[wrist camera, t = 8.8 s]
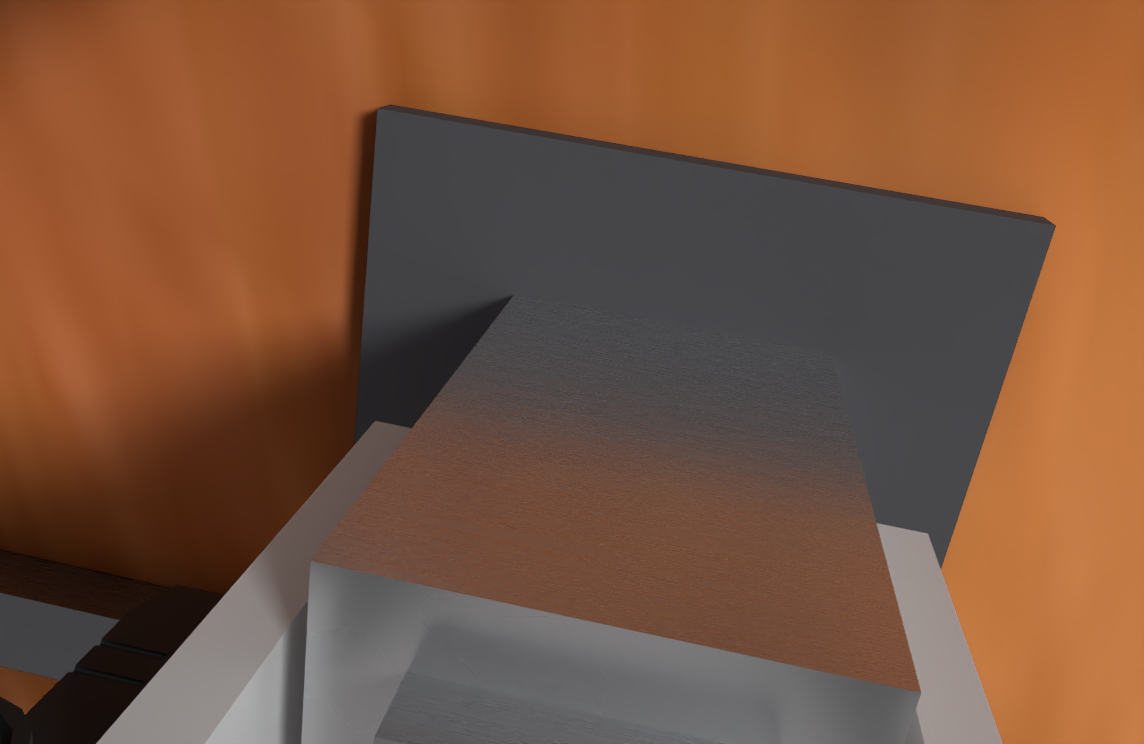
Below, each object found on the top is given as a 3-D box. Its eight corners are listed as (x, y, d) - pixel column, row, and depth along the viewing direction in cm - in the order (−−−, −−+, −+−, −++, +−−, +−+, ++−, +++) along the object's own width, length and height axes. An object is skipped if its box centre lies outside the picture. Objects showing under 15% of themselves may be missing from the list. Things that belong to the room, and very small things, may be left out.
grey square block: (513, 294, 16) (267, 616, 7) (831, 353, 15) (940, 765, 7) (480, 562, 17) (254, 1055, 9) (762, 622, 17) (785, 1198, 9)
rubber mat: (390, 104, 15) (377, 108, 15) (1044, 217, 14) (1055, 226, 14) (352, 629, 19) (340, 647, 19) (869, 745, 18) (873, 769, 18)
